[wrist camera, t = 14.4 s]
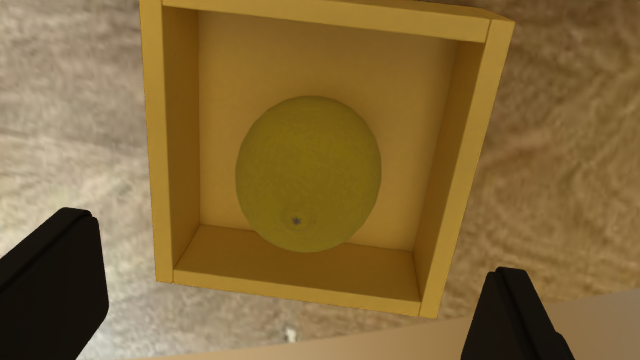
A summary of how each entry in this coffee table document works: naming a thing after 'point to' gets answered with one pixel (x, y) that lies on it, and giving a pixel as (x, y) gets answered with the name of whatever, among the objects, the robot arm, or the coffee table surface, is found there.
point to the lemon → (308, 174)
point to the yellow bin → (332, 82)
